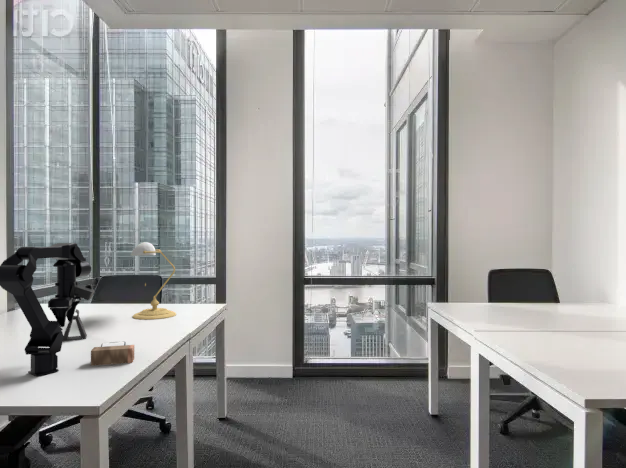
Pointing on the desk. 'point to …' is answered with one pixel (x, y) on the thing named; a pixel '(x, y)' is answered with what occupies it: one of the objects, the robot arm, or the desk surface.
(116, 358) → the wooden block
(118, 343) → the phone case
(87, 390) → the desk surface
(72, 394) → the desk surface
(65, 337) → the phone stand
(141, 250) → the desk lamp
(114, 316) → the desk surface
